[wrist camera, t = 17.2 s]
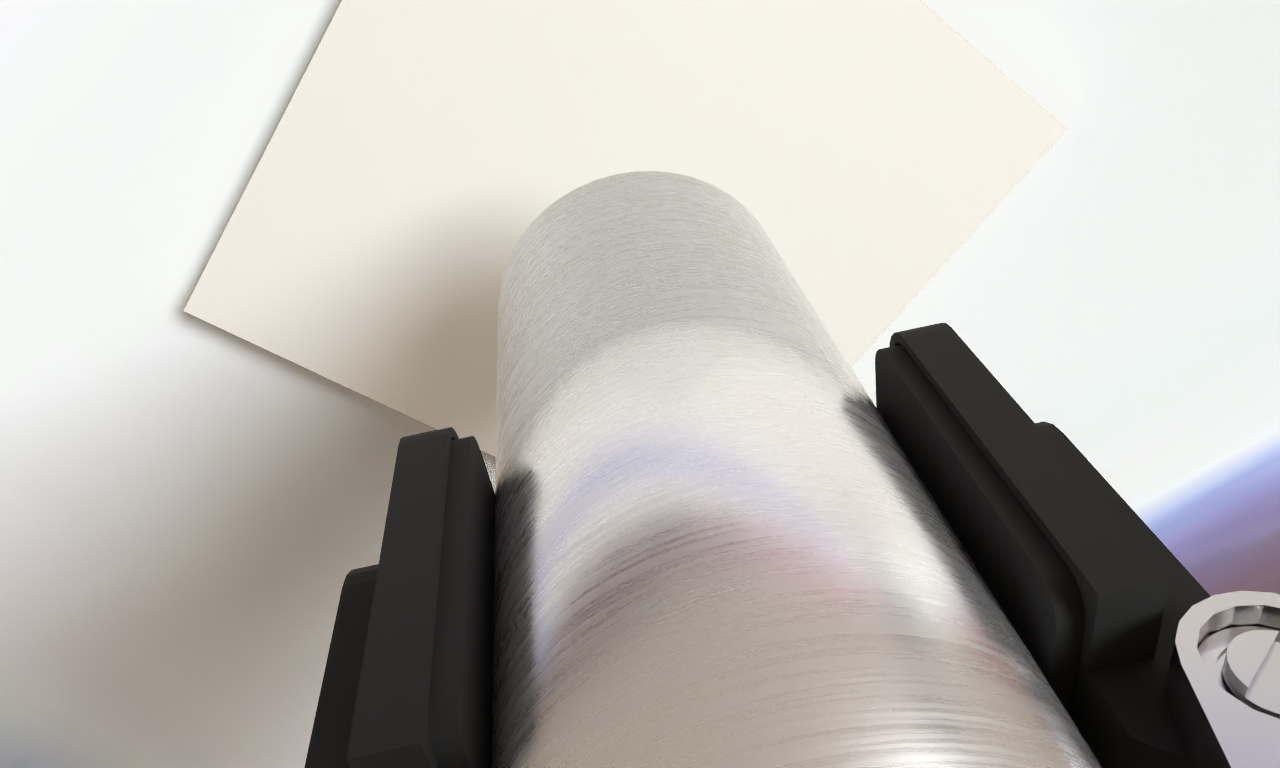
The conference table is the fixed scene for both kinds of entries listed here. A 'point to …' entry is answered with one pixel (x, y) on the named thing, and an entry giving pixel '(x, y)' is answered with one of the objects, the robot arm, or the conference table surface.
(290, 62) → the conference table surface
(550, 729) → the steel cylinder
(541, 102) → the mat
